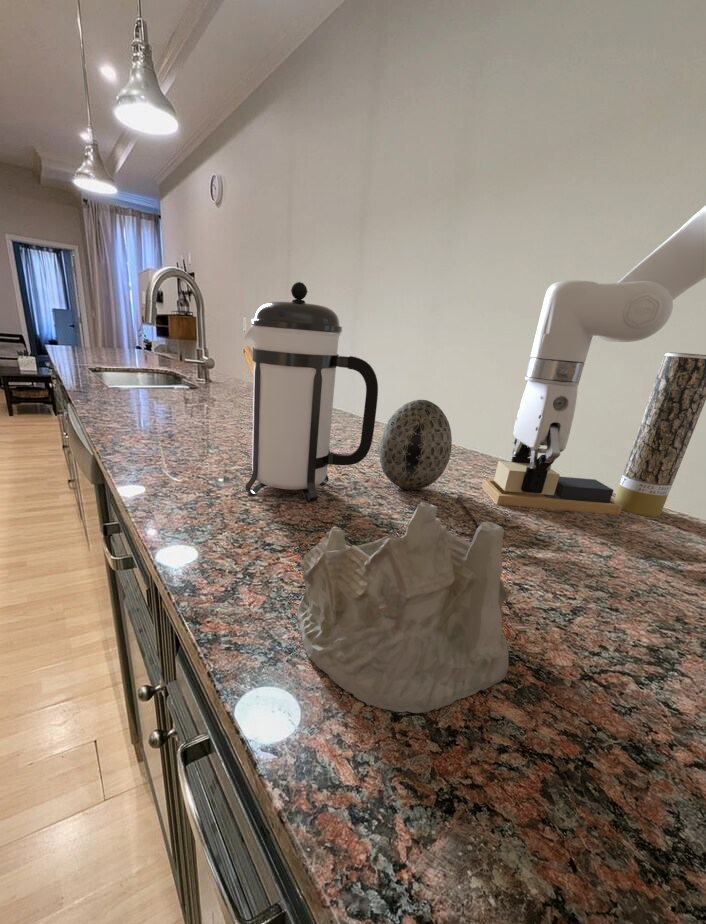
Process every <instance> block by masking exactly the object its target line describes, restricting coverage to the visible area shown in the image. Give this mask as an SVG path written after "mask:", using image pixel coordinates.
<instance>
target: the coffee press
mask: <svg viewBox="0 0 706 924" xmlns="http://www.w3.org/2000/svg"><path fill="white" fill-rule="evenodd" d="M290 292H291V296H292V297H293V299H292V300H291V301H270V302H267V303H264V304H262V305H261V306H260V307H259V308H258V309H257V310H256V313H255V316H254V318H252V319H251V325H250V327H248V329H247V331H246V333H245V334H244V338H243V339H244V340H245V341H252V342H253V344H254V346H253V347H252V355H251V356H252V362H253V389H252V390H253V393H252V394H253V395H252V445H251V447H252V448H251V449H252V451H251V452H252V454H251V457H252V458H251V471H252V473H251V474H252V475H251V476H250V479H248V482H247V483H246V484H245V491H246V492H248V493H249V494H250V495H256V494H257V493H258V492H259V491H260V490H261V489H263V488H264V487H270V488H274V489H280V490H291V491H292V490H293V491H295V490H297V491H298V490H300V491H301V492H302V494H303V497H304V499H305V501H306V502H307V503H312V502H313V503H314V502H317V501H318V500H319V494H318V491H317V487H319V486H320V485H321V484H323V485H326V484H328V482H329V476H328V466H352V465H356V464H358V463H360V462H361V461H363V460H364V459H365V457H367V455H368V453H369V452H370V450H371V447H372V442H373V438H374V431H375V424H376V415H377V407H378V396H379V382H378V378H377V375H376V372H375V370H374V369H373V367H372V366H371V364H369V362H367V361H365V360H364V359H362V358H360V357H357V356H354V355H349V356H342V355H339V354H338V349H339V348H338V347H339V339H340V336H341V334H342V333H343V326H340V320H339V319H340V318H339V316H338V315H337V314H336V312H335V311H334V310H332V309H331V308H329V307H327V306H323V305H320V304H315V303H307V302H306V301H305V300H304V299H305V298H306V296H307V295H308V288H307V286H306V285H305V283H303V282H300V281H297V282H295V283H294V284H292V286H291V289H290ZM337 368H342V369H343V368H344V369H345V368H346V369H347V370H353V371H356V372H358V373H359V374H360V375H361V376H362V378H363V380H364V384H365V400H364V408H363V409H364V410H363V419H362V426H361V434H360V435H361V436H360V443H359V446H358V447H357V448H356V449H355V451H353V452H351V453H334V452H331V450H330V442H331V432H332V431H331V430H332V418H333V407H334V397H335V396H334V394H335V383H336V370H337ZM256 481H258V482H259V483H257V484H256V485H255V486H254V487H253V485H254V484H255V482H256ZM252 487H253V488H252Z"/></svg>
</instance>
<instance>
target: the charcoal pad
mask: <svg viewBox="0 0 706 924" xmlns="http://www.w3.org/2000/svg"><path fill="white" fill-rule="evenodd" d="M614 492H615V491H614V489H613V488H611V487H610V486H608V485H606V484H604V483H602V482H601V481H599V480H597V479H596V478H595V479H594V478H581V477H569V476H559V479H558V483H557V486H556V489H555V493H554V495H546V494H544V495H545V496H546V497H547V498H552V499H564V500H576V501H588V502H600V503H609V502H610V500H611V499H612V497H613V493H614Z"/></svg>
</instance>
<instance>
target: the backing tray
mask: <svg viewBox="0 0 706 924" xmlns="http://www.w3.org/2000/svg"><path fill="white" fill-rule="evenodd" d="M481 488H482V490H483V491H484V492H485V493H486V494H487V495H488V496H489V498H491V499H492V501H493V502H494V504H496V505H498V506H510V507H523V508H535V509H545V510H546V509H547V510H556V511H557V510H558V511H569V512H570V511H571V512H582V513H593V514H605V515H619V516H620V515H621V512H622V510H621V509H622V507H623V506H622V505H620V504H619V503H617V502H616V501H614V499H612V498H611V500H610V502H609V503H600V502H588V501H576V500H564V499H552V498H547V497H546V496H545V495H544V494H534V493H523V492H511V491H504V490H503V489H502V488H501V487H500V486H499V485H498V484H497V483H496V482H495V481H494V479H492V478H491V479H488V478H483V479H482V483H481Z"/></svg>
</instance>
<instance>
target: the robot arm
mask: <svg viewBox="0 0 706 924" xmlns="http://www.w3.org/2000/svg"><path fill="white" fill-rule="evenodd" d="M704 279H706V204H705V205H704V206H703V207H702V208H701V209H700V210H698V211H697V212H696V213H695V214H694V215H692V217H691V218H690V219H688V220H687V221H686V222H685V223H684V224H683V225H682V226H680V228H679V229H678V230H676V231H675V232H674V233H673V234H671V235H670V236H669V237H668V238H667V239H666V240H665V241H664V242H662V243H661V244H660V245H659V246H658V247H656V248H655V249H654V250H653V251H652V252H651V253H649V254H648V255H647V256H646V257H645V258H643V259H642V260H641V261H640V262H639V263H638V264H637V265H635V266H634V267H633V268H632V269H631V270H630V271H628V272H627V273H626V274H625V275H624V276H623V277H622V278H621V279H619V280H618V281H616V282H609V283H599V282H595V281H590V280H589V281H588V280H579V279H578V280H573V279H572V280H560V281H557V282H554V283H552V284H550V286H549V287H548V288H547V290H546V291H545V295H544V299H543V301H542V302H543V303H542V307H541V310H540V315H539V318H538V322H537V327H536V331H535V336H534V340H533V343H532V346H531V347H532V348H531V352H530V356H529V359H528V364H527V369H526V373H525V377H524V381H527V382H526V385H525V388H524V391H523V394H522V397H521V400H520V404H519V407H518V411H517V413H516V417H515V422H514V426H513V427H514V428H513V437H514V442H513V444H514V448H513V450H512V453H511V455H512V457H511V460H510V462H515V463H527V464H530V467H527V468H526V472H525V476H524V479H523V483H522V487H521V490H522V491H523V492H529V493H542V491H543V487H544V484H545V480H546V477H547V473H548V470H550V469H552V464H553V463H554V462H555V461H556V460H557V459H558V458H560V456H561V454H562V452H564V451H565V450H566V448H567V445H568V441H569V437H570V433H571V429H572V425H573V421H574V416H575V411H576V407H577V406H576V405H577V400H578V399H577V398H578V387H579V385H580V380H581V377H582V374H583V370H584V367H585V364H586V360H587V357H588V353H589V350H590V346H591V343H592V338H593V337H594V336H596V337H597V338H599V339H600V340H602V341H605V342H616V343H617V342H618V343H632V342H639V341H641V340H645V339H647V338H650V337H651V336H653V335H655V334H656V333H657V332H659V331H660V330H661V329H663V327H664V326H666V324H667V322H668V321H669V319H670V318H671V315H672V313H673V309H674V300H675V299H677V298H678V297H680V296H681V295H682V294H683V293H685V292H686V291H687V290H689V289H691V288H692V287H694V286H696V285H697V284H698V283H699V282H701V281H703V280H704ZM542 446H543V447H544V446H546V448H542ZM539 454H540V455H539ZM538 456H539V457H538Z"/></svg>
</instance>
